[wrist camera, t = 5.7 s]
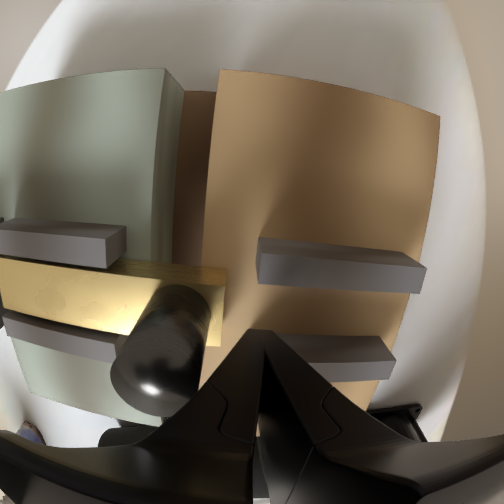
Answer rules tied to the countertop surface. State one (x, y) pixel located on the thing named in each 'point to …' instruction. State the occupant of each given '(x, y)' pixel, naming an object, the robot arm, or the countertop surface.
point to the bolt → (130, 318)
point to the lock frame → (220, 214)
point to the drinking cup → (140, 432)
